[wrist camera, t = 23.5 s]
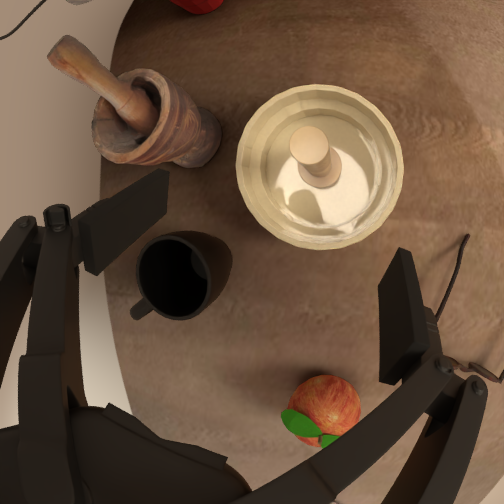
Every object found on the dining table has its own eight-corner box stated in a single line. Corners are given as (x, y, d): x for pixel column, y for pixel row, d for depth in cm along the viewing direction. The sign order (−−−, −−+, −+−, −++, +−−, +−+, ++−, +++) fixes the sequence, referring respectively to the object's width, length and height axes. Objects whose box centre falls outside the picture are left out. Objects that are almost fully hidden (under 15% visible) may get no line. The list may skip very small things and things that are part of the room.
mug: (150, 267, 39) (103, 285, 30) (215, 210, 36) (174, 216, 26) (186, 318, 39) (146, 349, 30) (257, 268, 35) (229, 293, 26)
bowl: (233, 207, 35) (213, 209, 29) (282, 85, 31) (270, 65, 25) (358, 263, 32) (362, 276, 27) (410, 136, 28) (424, 124, 23)
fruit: (324, 348, 35) (318, 397, 25) (376, 391, 34) (382, 444, 25) (277, 388, 37) (259, 438, 28) (328, 426, 37) (321, 479, 27)
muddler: (297, 180, 32) (262, 164, 17) (311, 146, 31) (287, 100, 16) (332, 195, 31) (329, 192, 16) (346, 160, 30) (355, 126, 15)
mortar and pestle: (137, 135, 37) (11, 111, 18) (173, 81, 34) (59, 20, 15) (197, 185, 36) (67, 181, 17) (241, 125, 33) (137, 60, 14)
